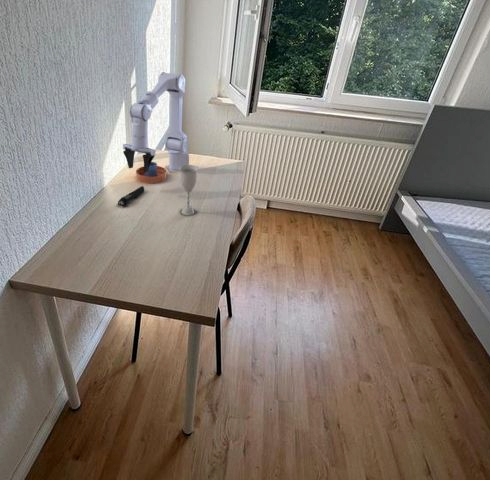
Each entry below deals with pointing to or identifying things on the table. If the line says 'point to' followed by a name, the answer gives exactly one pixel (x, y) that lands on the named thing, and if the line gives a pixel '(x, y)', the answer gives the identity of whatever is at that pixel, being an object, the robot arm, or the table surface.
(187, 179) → the chalice
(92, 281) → the table surface
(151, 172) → the blue cup
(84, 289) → the table surface
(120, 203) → the electric trimmer
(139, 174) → the bowl
